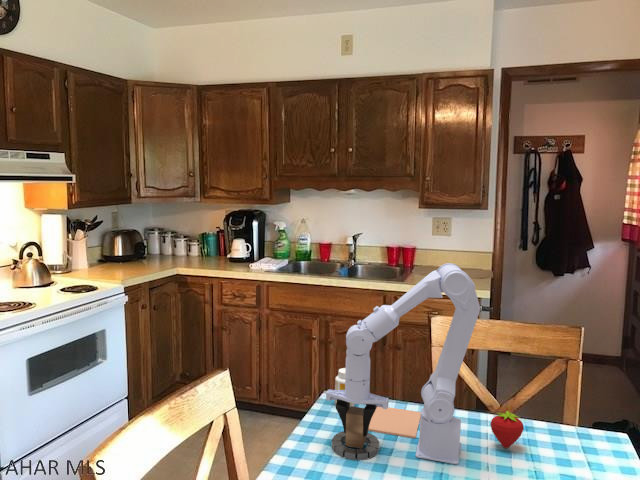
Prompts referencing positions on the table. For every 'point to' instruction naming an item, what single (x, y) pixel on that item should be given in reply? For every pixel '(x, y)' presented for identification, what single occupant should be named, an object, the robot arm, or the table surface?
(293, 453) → the table surface
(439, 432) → the robot arm
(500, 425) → the strawberry
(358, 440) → the link block
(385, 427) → the terracotta tile
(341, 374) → the supplement bottle
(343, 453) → the holder ring
